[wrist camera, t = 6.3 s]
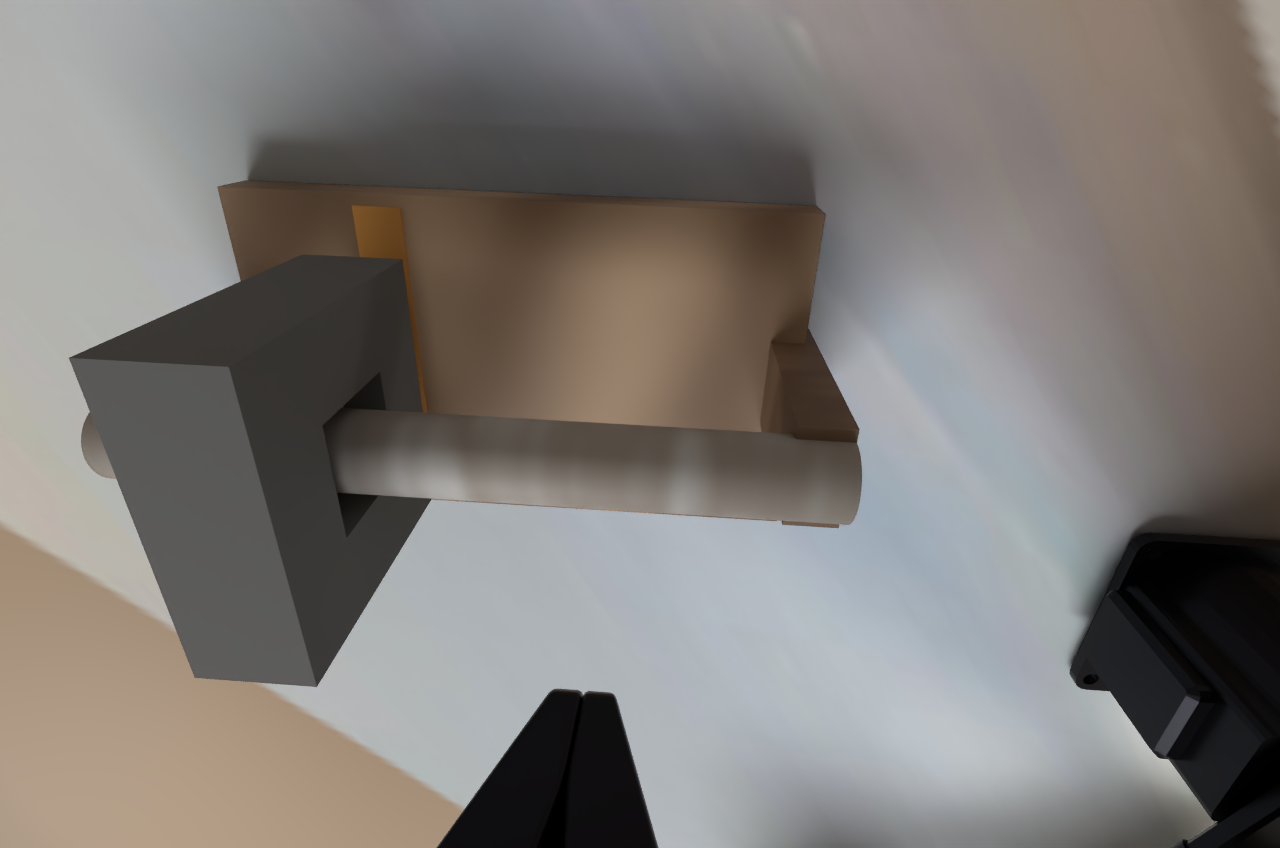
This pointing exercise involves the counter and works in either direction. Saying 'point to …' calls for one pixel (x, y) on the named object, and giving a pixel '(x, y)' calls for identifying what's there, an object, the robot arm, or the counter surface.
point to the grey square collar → (260, 458)
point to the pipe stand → (581, 350)
